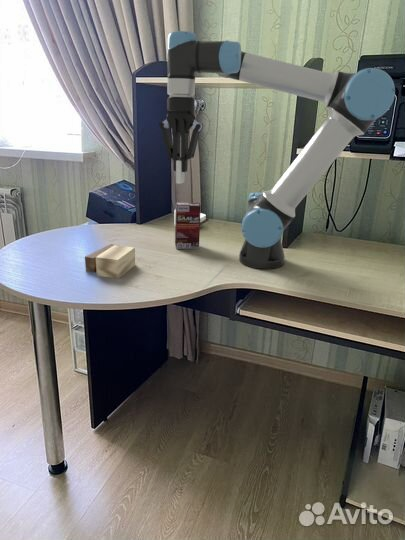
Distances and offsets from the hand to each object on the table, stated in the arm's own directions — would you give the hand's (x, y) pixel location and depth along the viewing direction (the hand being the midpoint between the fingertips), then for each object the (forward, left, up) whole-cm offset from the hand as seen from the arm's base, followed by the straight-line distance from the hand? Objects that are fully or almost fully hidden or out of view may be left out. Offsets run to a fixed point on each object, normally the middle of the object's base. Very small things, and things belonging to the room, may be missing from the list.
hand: (180, 182), depth 123 cm
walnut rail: (+23, +9, -26) cm, 36 cm away
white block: (+19, -51, -27) cm, 61 cm away
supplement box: (+6, -19, -27) cm, 33 cm away
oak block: (+16, +11, -27) cm, 33 cm away
